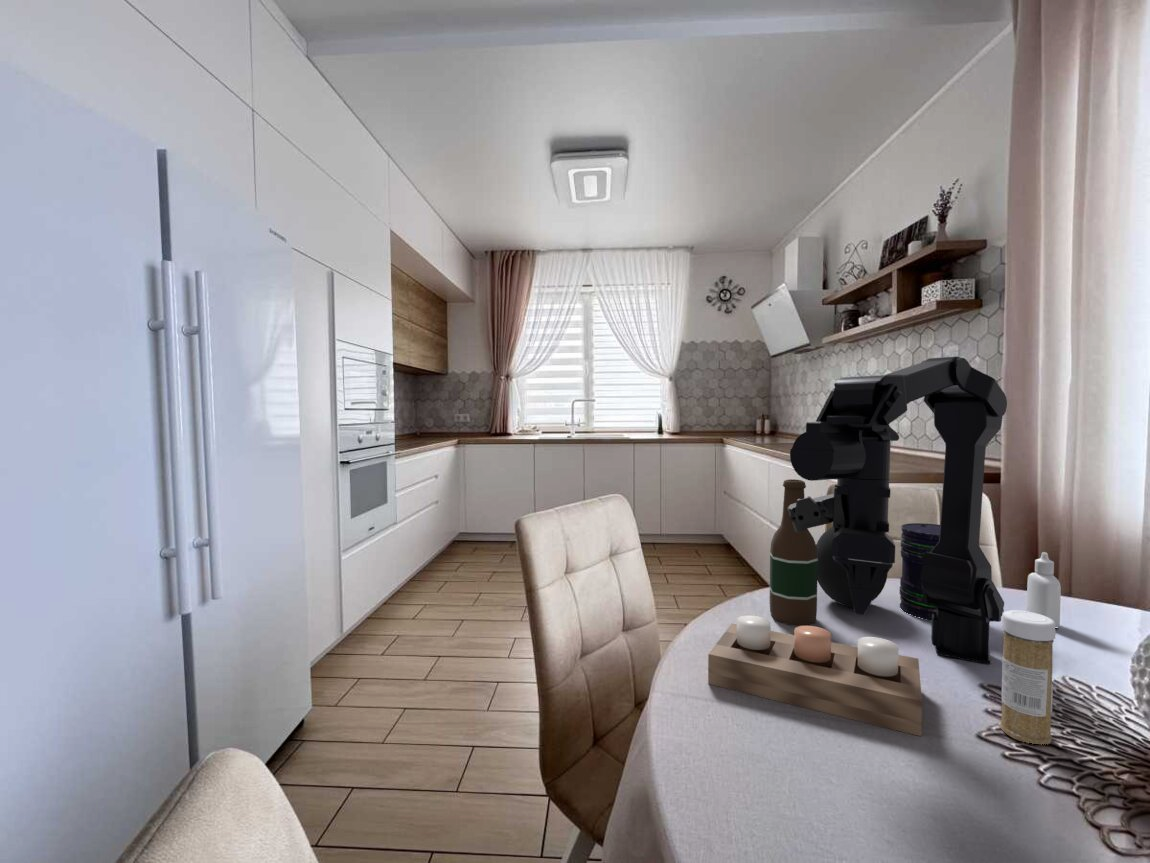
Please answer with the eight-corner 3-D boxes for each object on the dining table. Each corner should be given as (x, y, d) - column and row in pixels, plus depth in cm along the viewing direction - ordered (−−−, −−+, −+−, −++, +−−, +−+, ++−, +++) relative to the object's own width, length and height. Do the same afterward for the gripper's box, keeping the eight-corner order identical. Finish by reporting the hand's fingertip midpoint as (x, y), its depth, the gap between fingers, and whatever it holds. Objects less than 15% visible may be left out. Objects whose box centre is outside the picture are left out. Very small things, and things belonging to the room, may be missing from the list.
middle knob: (832, 651, 74) (832, 629, 74) (828, 665, 70) (829, 641, 70) (796, 645, 76) (797, 623, 76) (791, 657, 72) (792, 634, 72)
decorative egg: (875, 622, 95) (877, 535, 94) (802, 605, 103) (803, 524, 102) (895, 603, 104) (896, 523, 103) (826, 589, 112) (827, 515, 111)
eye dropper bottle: (1059, 621, 95) (1062, 551, 94) (1059, 631, 91) (1062, 558, 90) (1026, 615, 98) (1028, 547, 97) (1025, 624, 93) (1027, 554, 93)
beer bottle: (812, 630, 92) (815, 484, 90) (764, 620, 96) (765, 481, 95) (820, 615, 98) (822, 479, 97) (774, 606, 102) (775, 476, 101)
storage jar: (978, 622, 94) (981, 535, 94) (920, 622, 95) (922, 535, 94) (940, 602, 104) (942, 523, 104) (888, 602, 104) (889, 523, 104)
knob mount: (917, 688, 72) (918, 658, 72) (921, 736, 62) (922, 701, 62) (731, 649, 84) (731, 623, 84) (708, 683, 74) (708, 654, 74)
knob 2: (897, 664, 70) (898, 641, 70) (898, 679, 66) (898, 654, 66) (858, 657, 72) (859, 634, 72) (856, 671, 68) (857, 647, 68)
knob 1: (773, 640, 77) (773, 619, 77) (766, 652, 74) (767, 630, 74) (740, 634, 80) (741, 613, 80) (733, 645, 76) (733, 623, 76)
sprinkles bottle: (1058, 738, 62) (1062, 618, 61) (1042, 752, 59) (1046, 627, 58) (1008, 719, 65) (1011, 605, 65) (991, 731, 63) (995, 613, 62)
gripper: (798, 467, 81) (795, 574, 82) (786, 480, 64) (782, 614, 65) (886, 472, 76) (882, 585, 77) (898, 487, 59) (892, 632, 60)
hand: (858, 602), depth 70 cm, fingers open, 9 cm apart
